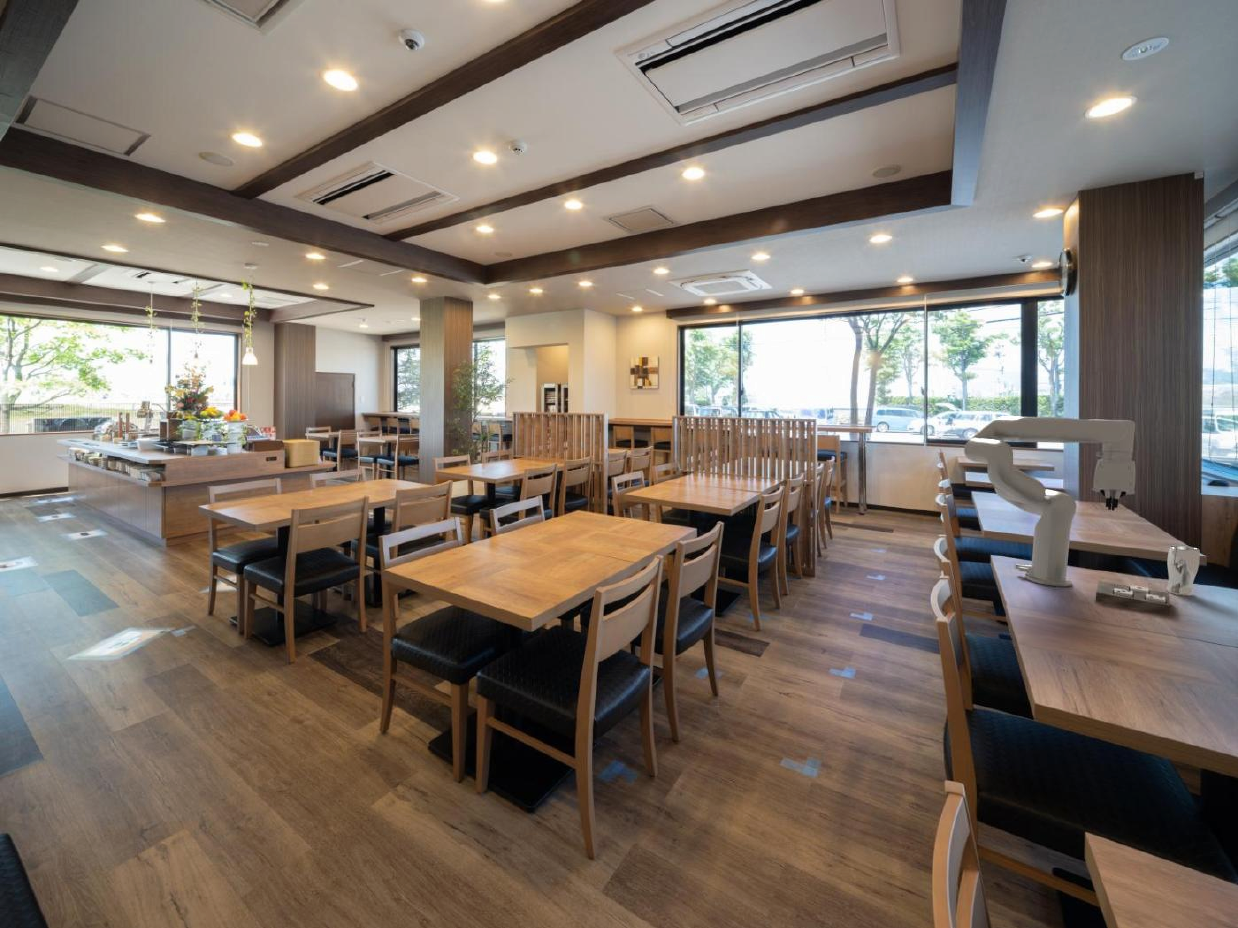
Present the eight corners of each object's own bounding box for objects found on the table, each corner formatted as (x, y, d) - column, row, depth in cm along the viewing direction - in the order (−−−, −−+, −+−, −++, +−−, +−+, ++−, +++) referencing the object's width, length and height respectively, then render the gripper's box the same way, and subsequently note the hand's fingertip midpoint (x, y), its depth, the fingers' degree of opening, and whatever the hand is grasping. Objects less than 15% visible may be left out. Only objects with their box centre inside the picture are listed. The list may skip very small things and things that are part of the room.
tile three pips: (1113, 600, 162) (1114, 590, 162) (1113, 597, 165) (1114, 587, 165) (1131, 603, 160) (1132, 594, 159) (1131, 600, 162) (1132, 590, 162)
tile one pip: (1129, 597, 165) (1130, 587, 165) (1129, 594, 168) (1130, 584, 167) (1147, 600, 162) (1148, 590, 162) (1147, 597, 165) (1148, 587, 165)
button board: (1095, 601, 164) (1096, 592, 164) (1098, 589, 174) (1098, 581, 173) (1169, 615, 153) (1170, 605, 152) (1167, 602, 163) (1168, 592, 162)
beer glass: (1180, 589, 173) (1186, 545, 172) (1202, 597, 167) (1207, 551, 165) (1157, 588, 174) (1162, 544, 172) (1177, 596, 167) (1183, 550, 166)
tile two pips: (1145, 606, 157) (1146, 596, 157) (1145, 602, 160) (1146, 593, 160) (1164, 610, 155) (1165, 599, 154) (1164, 606, 158) (1165, 596, 157)
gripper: (1086, 455, 181) (1081, 508, 183) (1147, 458, 170) (1141, 514, 172) (1087, 454, 186) (1083, 505, 188) (1147, 457, 175) (1141, 510, 177)
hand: (1111, 509), depth 180 cm, fingers closed
